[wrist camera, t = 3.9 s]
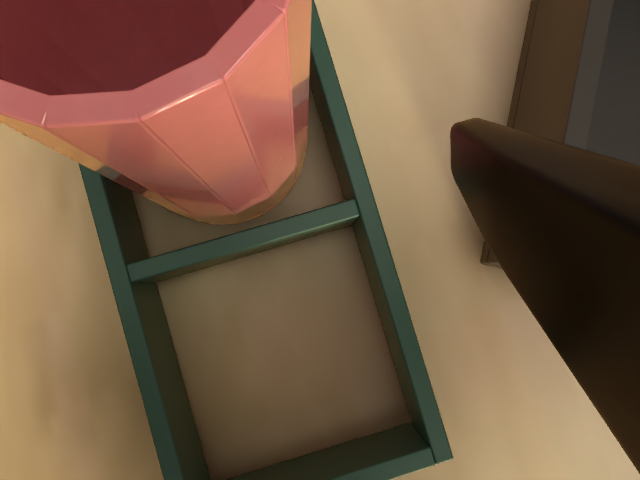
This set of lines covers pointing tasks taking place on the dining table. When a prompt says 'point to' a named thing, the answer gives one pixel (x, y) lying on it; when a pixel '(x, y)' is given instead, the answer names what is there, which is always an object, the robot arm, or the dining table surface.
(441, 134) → the dining table surface
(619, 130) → the square open box
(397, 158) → the dining table surface
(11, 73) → the cup
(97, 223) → the rack
